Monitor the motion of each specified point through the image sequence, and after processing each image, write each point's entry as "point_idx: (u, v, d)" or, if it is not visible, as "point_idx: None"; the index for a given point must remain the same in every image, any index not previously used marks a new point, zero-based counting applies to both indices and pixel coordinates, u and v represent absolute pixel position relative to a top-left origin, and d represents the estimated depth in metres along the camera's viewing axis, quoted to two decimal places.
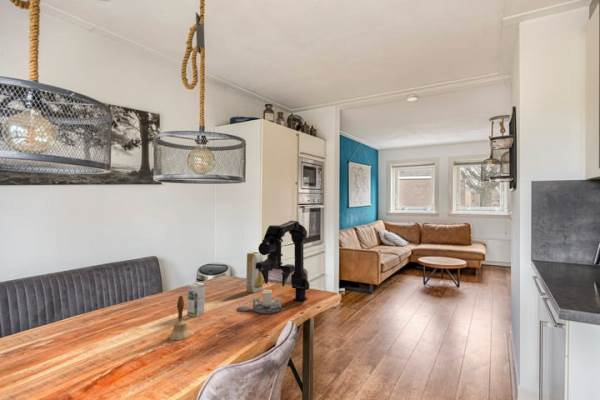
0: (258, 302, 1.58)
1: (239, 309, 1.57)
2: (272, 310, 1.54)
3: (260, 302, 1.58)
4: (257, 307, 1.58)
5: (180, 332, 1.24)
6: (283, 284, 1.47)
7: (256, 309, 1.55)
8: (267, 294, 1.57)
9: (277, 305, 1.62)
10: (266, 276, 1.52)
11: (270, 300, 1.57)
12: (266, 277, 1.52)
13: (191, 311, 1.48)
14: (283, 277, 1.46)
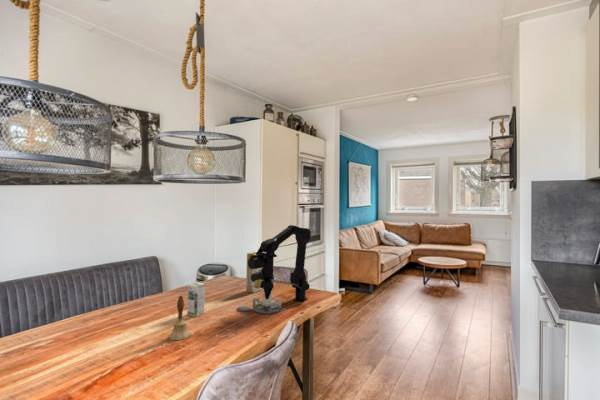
0: (258, 302, 1.58)
1: (239, 309, 1.57)
2: (272, 310, 1.54)
3: (260, 302, 1.58)
4: (257, 307, 1.58)
5: (180, 332, 1.24)
6: None
7: (256, 309, 1.55)
8: None
9: (277, 305, 1.62)
10: None
11: (270, 300, 1.57)
12: None
13: (191, 311, 1.48)
14: (264, 290, 1.56)
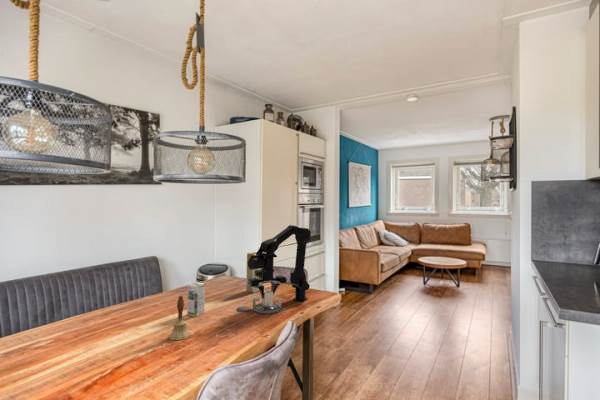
0: None
1: (239, 309, 1.57)
2: (272, 310, 1.54)
3: None
4: (257, 307, 1.58)
5: (180, 332, 1.24)
6: None
7: (256, 309, 1.55)
8: None
9: (277, 305, 1.62)
10: (272, 290, 1.60)
11: (264, 300, 1.56)
12: None
13: (191, 311, 1.48)
14: None
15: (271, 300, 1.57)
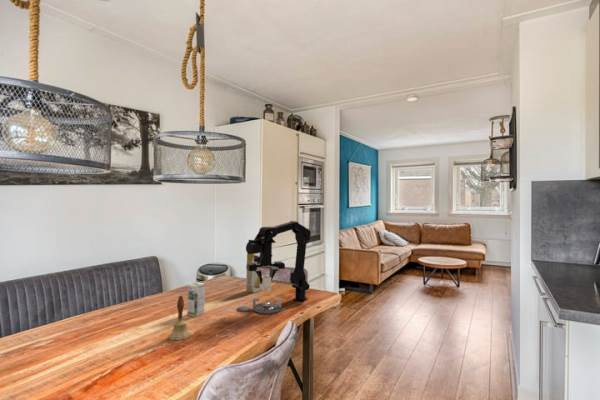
0: None
1: (239, 309, 1.57)
2: (272, 310, 1.54)
3: None
4: (257, 307, 1.58)
5: (180, 332, 1.24)
6: None
7: (256, 309, 1.55)
8: None
9: (277, 305, 1.62)
10: (270, 275, 1.60)
11: (262, 285, 1.56)
12: (270, 276, 1.60)
13: (191, 311, 1.48)
14: None
15: (269, 285, 1.57)
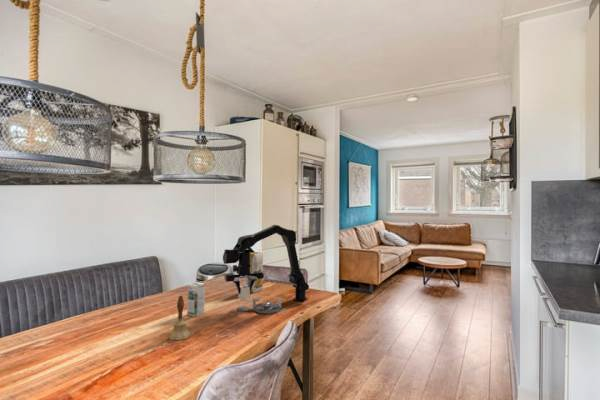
0: None
1: (239, 309, 1.57)
2: (272, 310, 1.54)
3: None
4: (257, 307, 1.58)
5: (180, 332, 1.24)
6: None
7: (256, 309, 1.55)
8: None
9: (277, 305, 1.62)
10: (249, 285, 1.59)
11: (240, 295, 1.55)
12: None
13: (191, 311, 1.48)
14: None
15: (247, 295, 1.56)
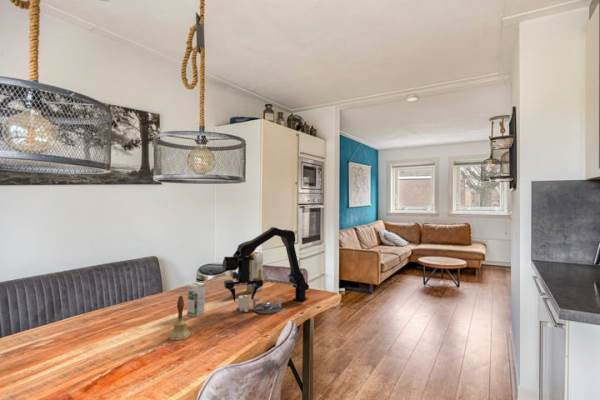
0: None
1: (239, 309, 1.57)
2: (272, 310, 1.54)
3: None
4: (257, 307, 1.58)
5: (180, 332, 1.24)
6: (233, 298, 1.56)
7: (256, 309, 1.55)
8: (239, 298, 1.57)
9: (277, 305, 1.62)
10: (252, 292, 1.60)
11: (240, 306, 1.55)
12: (252, 293, 1.60)
13: (191, 311, 1.48)
14: None
15: (247, 306, 1.56)
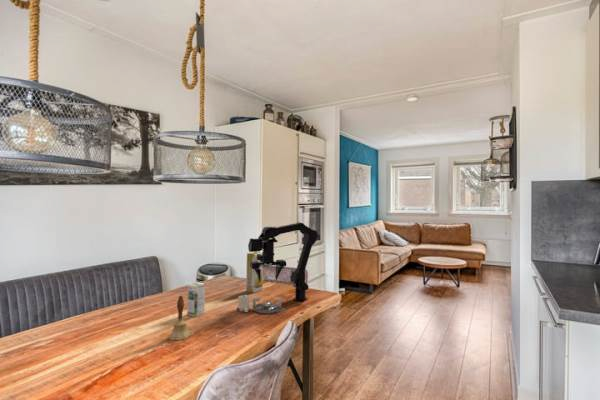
0: None
1: (239, 309, 1.57)
2: (272, 310, 1.54)
3: None
4: (257, 307, 1.58)
5: (180, 332, 1.24)
6: (258, 278, 1.65)
7: (256, 309, 1.55)
8: (239, 298, 1.57)
9: (277, 305, 1.62)
10: (276, 273, 1.69)
11: (240, 306, 1.55)
12: (276, 273, 1.69)
13: (191, 311, 1.48)
14: None
15: (247, 306, 1.56)
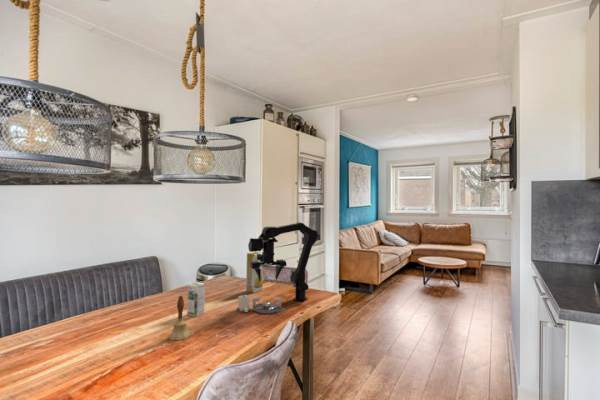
0: None
1: (239, 309, 1.57)
2: (272, 310, 1.54)
3: None
4: (257, 307, 1.58)
5: (180, 332, 1.24)
6: (258, 278, 1.65)
7: (256, 309, 1.55)
8: (239, 298, 1.57)
9: (277, 305, 1.62)
10: (276, 272, 1.69)
11: (240, 306, 1.55)
12: (276, 273, 1.69)
13: (191, 311, 1.48)
14: None
15: (247, 306, 1.56)
